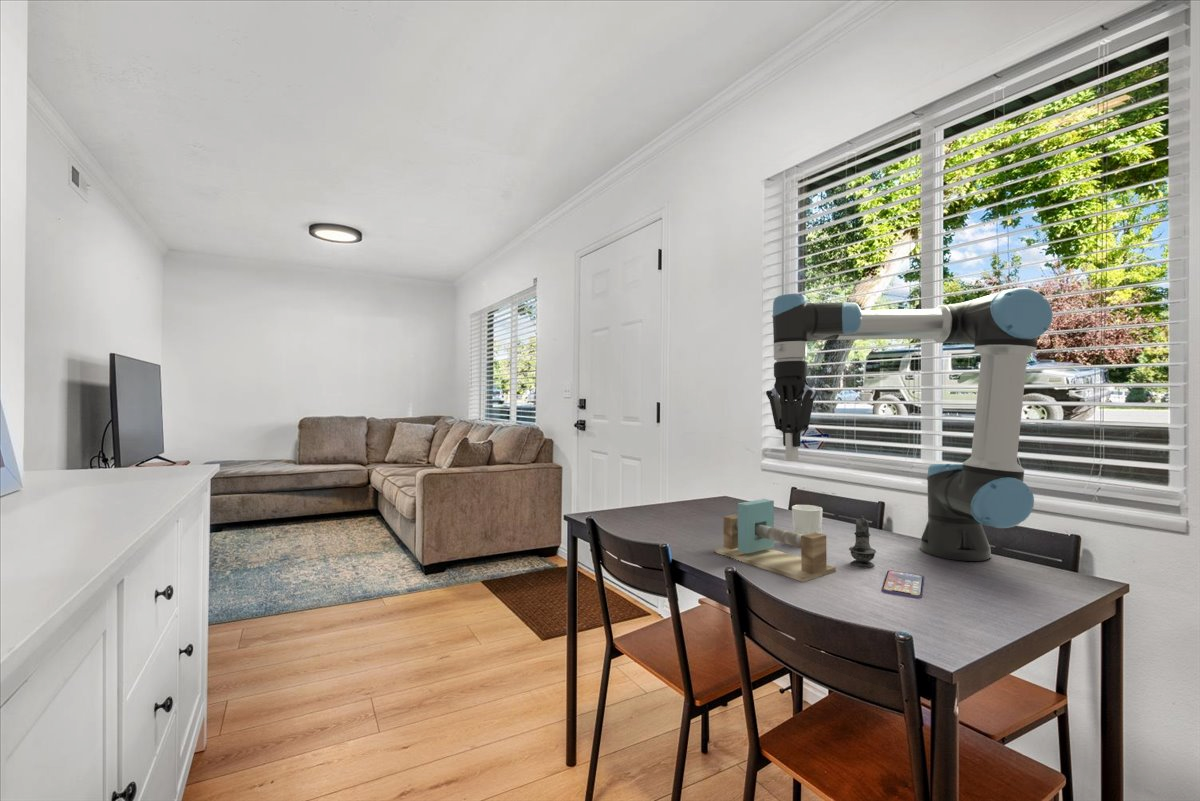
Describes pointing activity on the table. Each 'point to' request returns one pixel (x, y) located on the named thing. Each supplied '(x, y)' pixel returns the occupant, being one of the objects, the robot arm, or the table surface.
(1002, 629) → the table surface
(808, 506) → the white cup
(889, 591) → the smartphone
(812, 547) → the pipe stand
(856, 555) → the black chess piece
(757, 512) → the collar
